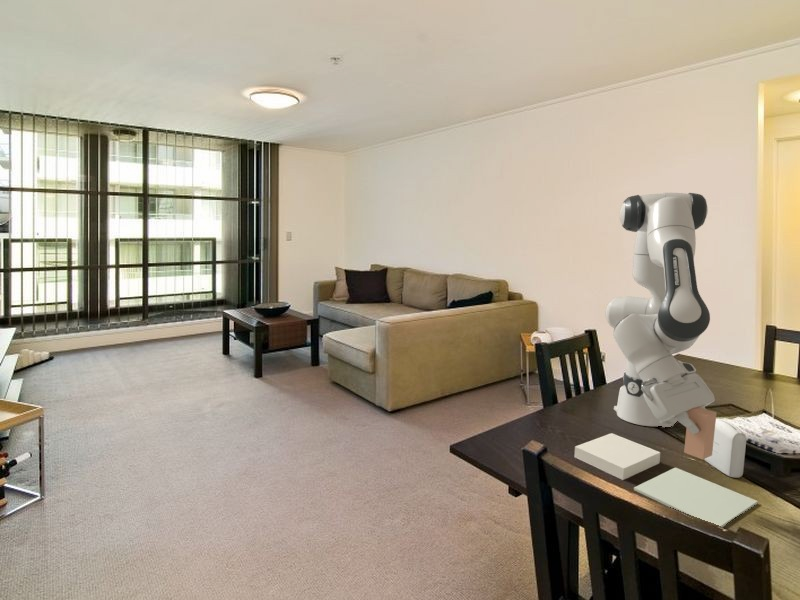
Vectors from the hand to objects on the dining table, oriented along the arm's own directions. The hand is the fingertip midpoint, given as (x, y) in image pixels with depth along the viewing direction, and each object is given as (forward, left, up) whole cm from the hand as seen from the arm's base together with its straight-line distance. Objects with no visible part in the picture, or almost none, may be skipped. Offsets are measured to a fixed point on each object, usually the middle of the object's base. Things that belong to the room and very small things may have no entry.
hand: (703, 430), depth 106 cm
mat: (0, -1, -16) cm, 16 cm away
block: (0, -1, -6) cm, 6 cm away
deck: (-1, -21, -16) cm, 26 cm away
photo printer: (-20, -4, -16) cm, 26 cm away
